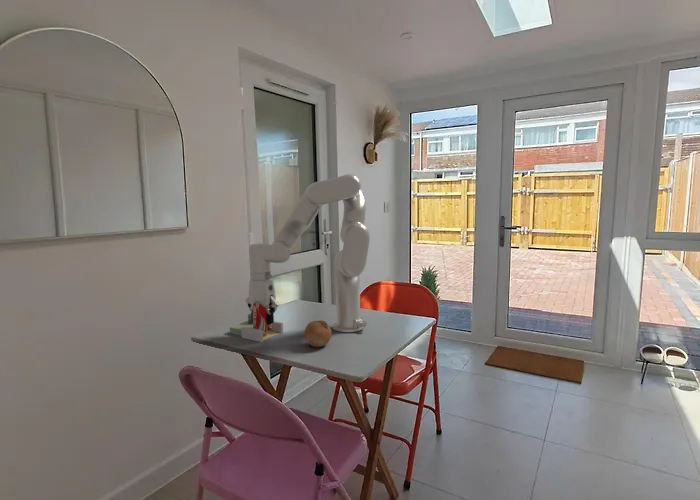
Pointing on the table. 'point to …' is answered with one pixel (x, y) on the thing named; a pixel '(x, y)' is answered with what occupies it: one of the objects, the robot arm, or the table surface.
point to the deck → (255, 330)
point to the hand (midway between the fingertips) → (262, 321)
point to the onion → (317, 333)
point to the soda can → (260, 318)
